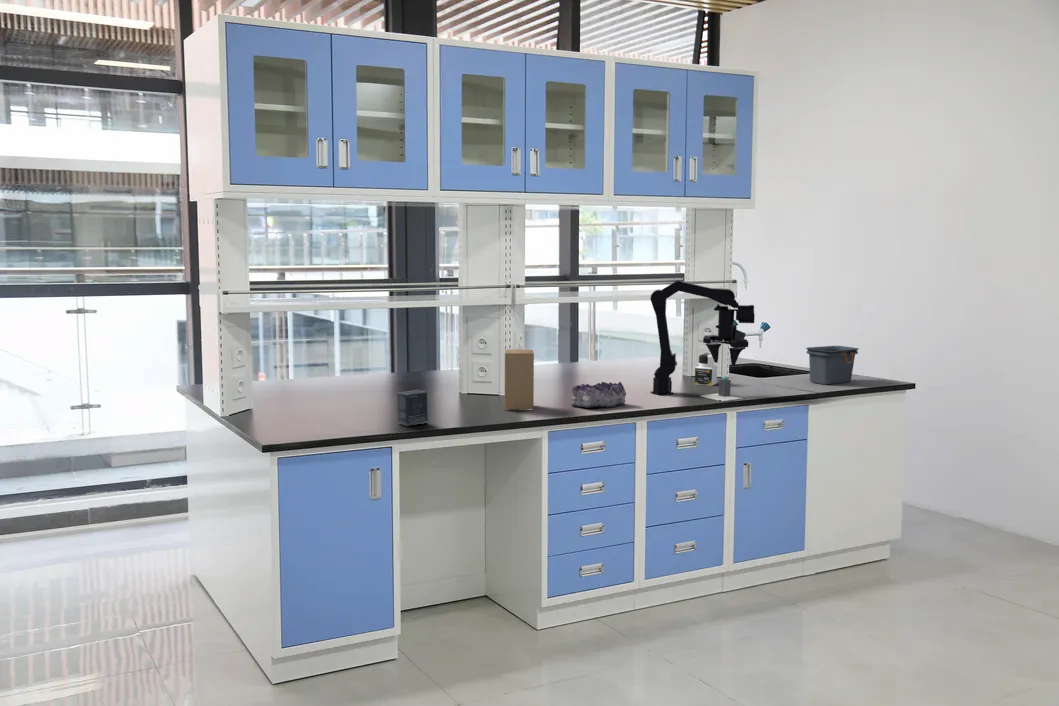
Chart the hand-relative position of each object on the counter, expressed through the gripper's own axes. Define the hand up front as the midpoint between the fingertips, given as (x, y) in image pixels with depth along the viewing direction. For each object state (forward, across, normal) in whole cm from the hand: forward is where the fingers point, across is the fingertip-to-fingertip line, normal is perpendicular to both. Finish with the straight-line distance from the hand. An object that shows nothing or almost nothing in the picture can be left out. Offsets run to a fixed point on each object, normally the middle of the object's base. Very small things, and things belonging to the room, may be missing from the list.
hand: (724, 364), depth 365 cm
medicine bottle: (+12, +24, -13) cm, 30 cm away
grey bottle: (+12, -1, +1) cm, 12 cm away
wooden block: (+12, +19, +79) cm, 82 cm away
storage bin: (+12, +1, -61) cm, 63 cm away
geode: (+12, +8, +52) cm, 54 cm away
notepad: (+12, -2, +3) cm, 13 cm away
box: (+12, +12, +123) cm, 124 cm away
